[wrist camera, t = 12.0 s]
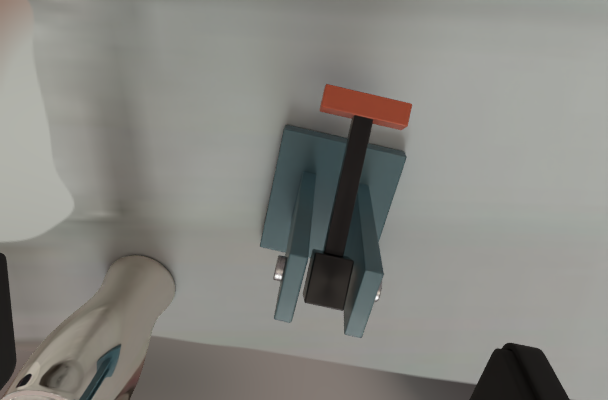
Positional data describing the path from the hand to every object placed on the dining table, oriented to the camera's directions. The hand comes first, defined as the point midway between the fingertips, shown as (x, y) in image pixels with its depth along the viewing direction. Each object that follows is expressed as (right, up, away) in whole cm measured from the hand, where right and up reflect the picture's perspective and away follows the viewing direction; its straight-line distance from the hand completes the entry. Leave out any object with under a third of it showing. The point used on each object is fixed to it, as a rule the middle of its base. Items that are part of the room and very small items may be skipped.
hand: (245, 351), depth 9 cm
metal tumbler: (-13, -4, +32) cm, 35 cm away
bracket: (+3, +3, +28) cm, 28 cm away
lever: (+3, +3, +19) cm, 20 cm away
